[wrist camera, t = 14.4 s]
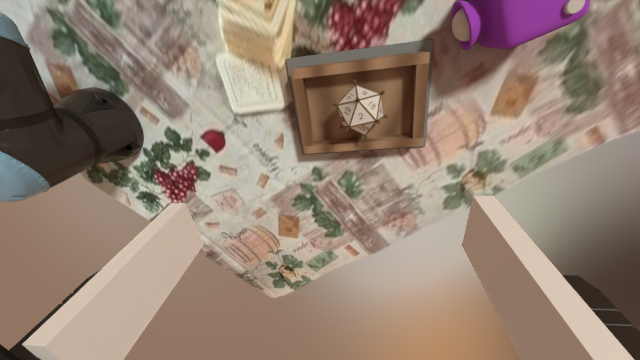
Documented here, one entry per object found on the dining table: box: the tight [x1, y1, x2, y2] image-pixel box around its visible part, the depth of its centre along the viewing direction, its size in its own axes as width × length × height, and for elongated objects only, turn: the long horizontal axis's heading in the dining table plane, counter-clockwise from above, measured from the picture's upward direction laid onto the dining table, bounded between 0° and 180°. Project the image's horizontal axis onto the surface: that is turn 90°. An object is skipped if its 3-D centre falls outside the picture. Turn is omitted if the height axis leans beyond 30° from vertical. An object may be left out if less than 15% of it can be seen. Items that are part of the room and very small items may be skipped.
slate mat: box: [286, 39, 434, 155], centre depth 46 cm, size 24×18×1 cm
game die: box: [332, 80, 388, 140], centre depth 42 cm, size 9×8×10 cm
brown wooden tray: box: [290, 51, 430, 154], centre depth 45 cm, size 22×15×4 cm
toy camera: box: [452, 0, 590, 50], centre depth 33 cm, size 11×14×10 cm
